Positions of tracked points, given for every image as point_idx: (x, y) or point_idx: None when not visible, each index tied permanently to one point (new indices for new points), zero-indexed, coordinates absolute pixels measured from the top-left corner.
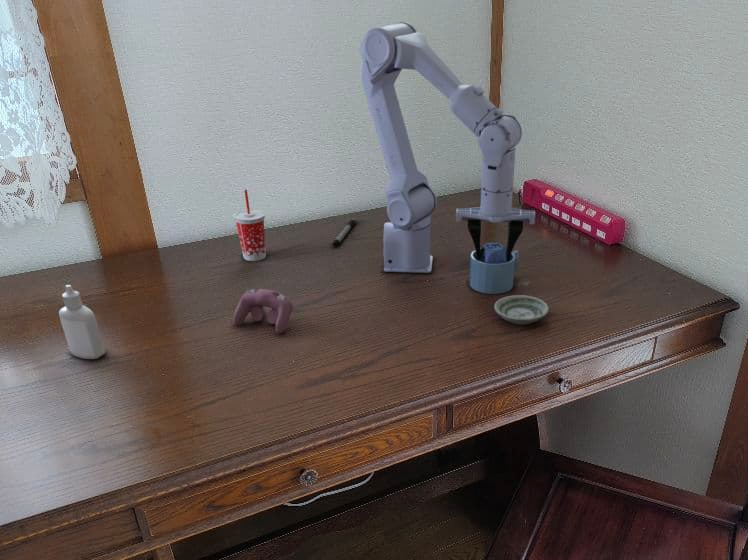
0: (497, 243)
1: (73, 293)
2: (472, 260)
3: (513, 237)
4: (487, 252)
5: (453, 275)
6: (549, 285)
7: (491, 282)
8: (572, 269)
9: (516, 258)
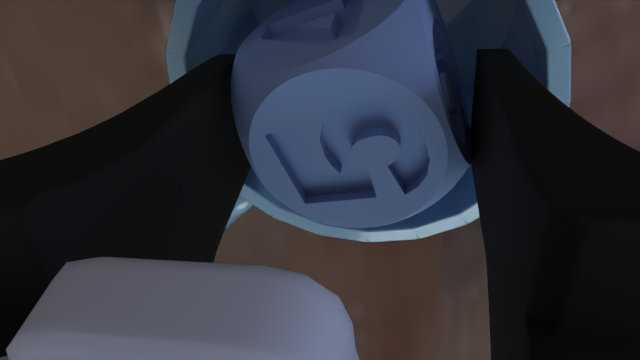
0: (315, 212)
1: None
2: (561, 17)
3: (73, 156)
4: (410, 52)
5: (623, 102)
6: (44, 20)
7: None
8: None
9: None
